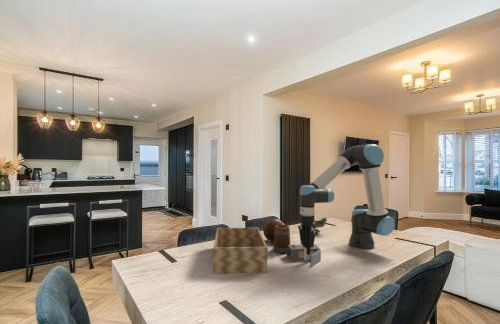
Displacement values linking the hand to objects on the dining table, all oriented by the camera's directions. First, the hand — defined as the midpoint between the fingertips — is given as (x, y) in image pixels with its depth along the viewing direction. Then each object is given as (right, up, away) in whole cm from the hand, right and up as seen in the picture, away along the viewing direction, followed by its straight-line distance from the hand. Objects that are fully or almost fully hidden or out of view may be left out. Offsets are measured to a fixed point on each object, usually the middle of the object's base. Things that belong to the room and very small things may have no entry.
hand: (306, 259), depth 138 cm
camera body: (0, -2, +8) cm, 8 cm away
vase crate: (-36, -1, +6) cm, 37 cm away
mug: (-10, -2, +21) cm, 23 cm away
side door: (+5, -2, -1) cm, 5 cm away
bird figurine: (+20, -3, +61) cm, 64 cm away
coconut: (-14, -2, +38) cm, 40 cm away
